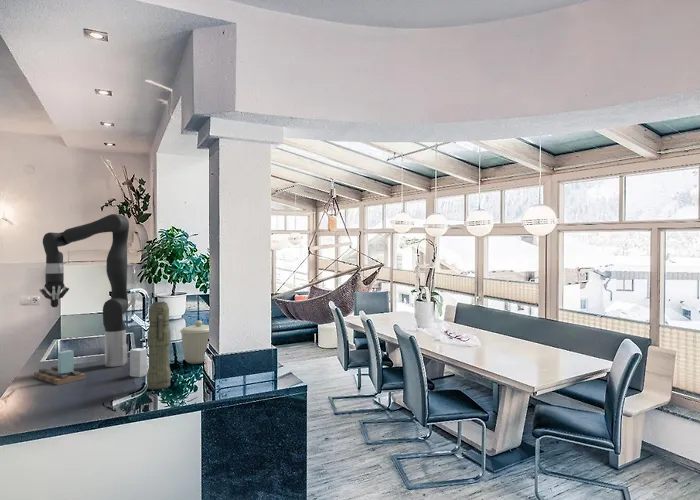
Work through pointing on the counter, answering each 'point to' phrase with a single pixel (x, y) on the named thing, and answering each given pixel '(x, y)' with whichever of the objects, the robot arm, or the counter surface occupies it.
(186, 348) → the canister
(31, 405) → the counter surface
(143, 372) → the skincare box
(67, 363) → the fader tab
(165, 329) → the thermos
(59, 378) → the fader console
